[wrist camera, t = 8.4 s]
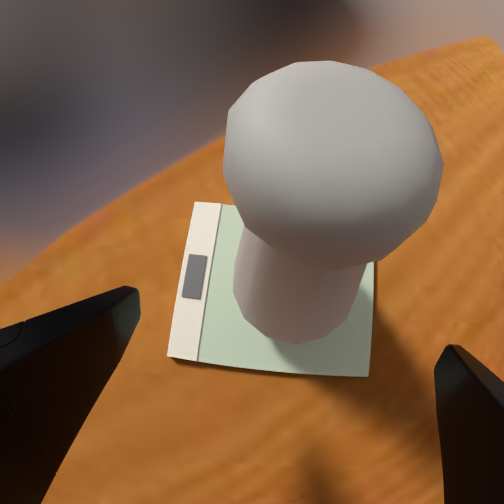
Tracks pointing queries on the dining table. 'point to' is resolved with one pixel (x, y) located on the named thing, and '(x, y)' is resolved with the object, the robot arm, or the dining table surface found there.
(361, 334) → the pad
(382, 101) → the salt shaker
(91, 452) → the dining table surface
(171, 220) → the dining table surface
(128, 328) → the robot arm
